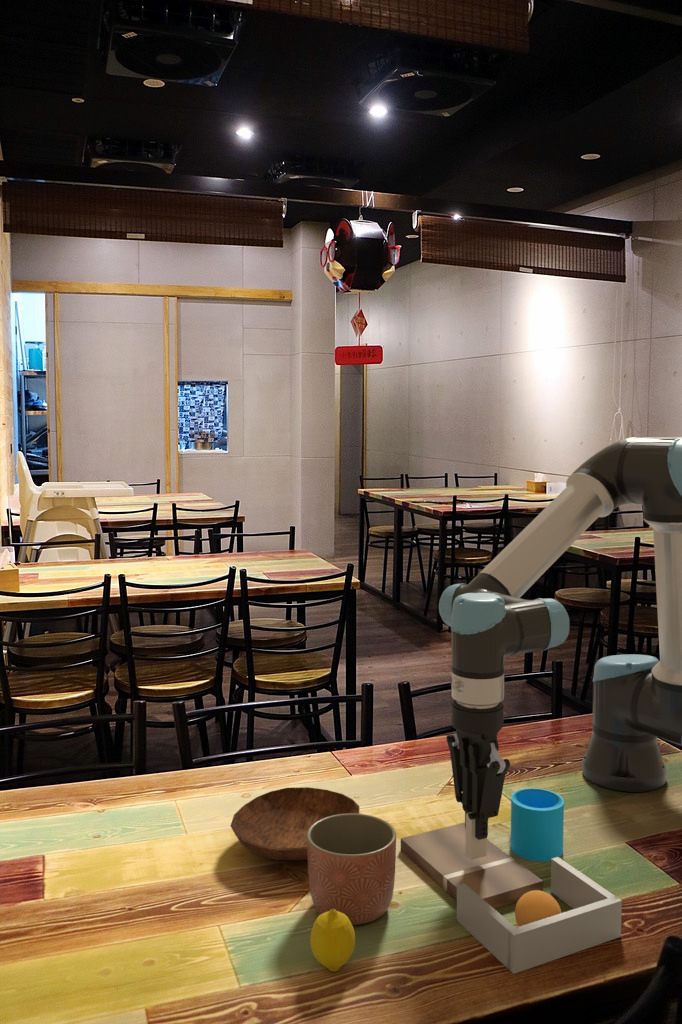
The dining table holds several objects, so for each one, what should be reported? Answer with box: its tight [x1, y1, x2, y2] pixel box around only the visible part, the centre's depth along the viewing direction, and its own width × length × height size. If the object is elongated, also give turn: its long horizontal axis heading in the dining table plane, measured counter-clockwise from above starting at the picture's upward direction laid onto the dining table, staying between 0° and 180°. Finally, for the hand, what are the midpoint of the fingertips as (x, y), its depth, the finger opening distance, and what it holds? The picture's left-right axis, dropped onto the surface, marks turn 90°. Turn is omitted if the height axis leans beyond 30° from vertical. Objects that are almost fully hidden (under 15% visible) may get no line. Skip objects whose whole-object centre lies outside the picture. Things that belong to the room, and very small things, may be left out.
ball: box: [514, 890, 563, 927], centre depth 111 cm, size 6×6×6 cm
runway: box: [400, 821, 544, 910], centre depth 128 cm, size 12×20×2 cm, turn 25°
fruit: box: [309, 908, 356, 972], centre depth 105 cm, size 6×6×8 cm
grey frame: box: [456, 857, 623, 975], centre depth 113 cm, size 17×13×5 cm
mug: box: [510, 787, 565, 862], centre depth 136 cm, size 12×8×8 cm
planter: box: [307, 813, 397, 926], centre depth 118 cm, size 12×12×11 cm
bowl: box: [230, 786, 360, 861], centre depth 136 cm, size 20×22×5 cm
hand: (476, 855), depth 126 cm, fingers closed
